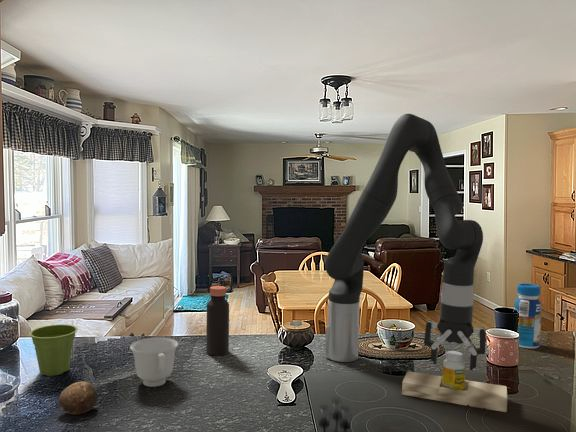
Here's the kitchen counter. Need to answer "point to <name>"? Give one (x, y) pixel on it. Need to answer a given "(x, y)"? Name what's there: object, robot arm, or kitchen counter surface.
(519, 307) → the beverage bottle
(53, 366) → the plant pot
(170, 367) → the teacup
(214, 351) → the vinegar
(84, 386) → the brown potato
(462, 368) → the supplement bottle
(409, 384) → the wooden plank
